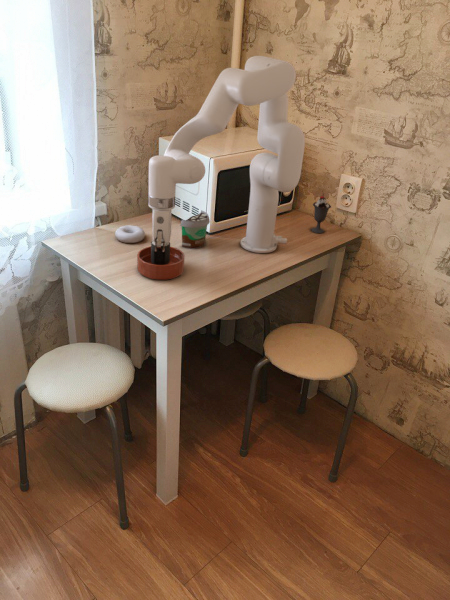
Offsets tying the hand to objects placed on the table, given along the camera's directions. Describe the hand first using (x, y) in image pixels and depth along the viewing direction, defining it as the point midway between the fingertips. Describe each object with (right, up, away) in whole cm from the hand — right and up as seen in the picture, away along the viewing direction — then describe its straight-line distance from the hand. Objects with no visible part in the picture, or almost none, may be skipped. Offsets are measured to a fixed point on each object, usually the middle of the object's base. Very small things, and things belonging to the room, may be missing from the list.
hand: (160, 258), depth 154 cm
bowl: (0, -3, +2) cm, 4 cm away
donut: (-13, +8, +20) cm, 26 cm away
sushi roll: (0, -1, 0) cm, 1 cm away
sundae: (+54, +13, +40) cm, 69 cm away
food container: (+10, +6, +20) cm, 23 cm away
